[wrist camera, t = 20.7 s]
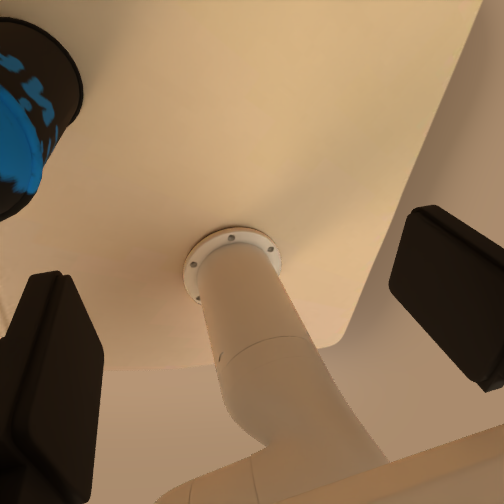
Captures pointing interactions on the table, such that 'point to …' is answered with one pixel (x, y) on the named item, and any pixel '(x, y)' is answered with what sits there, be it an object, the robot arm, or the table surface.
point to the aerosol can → (31, 107)
